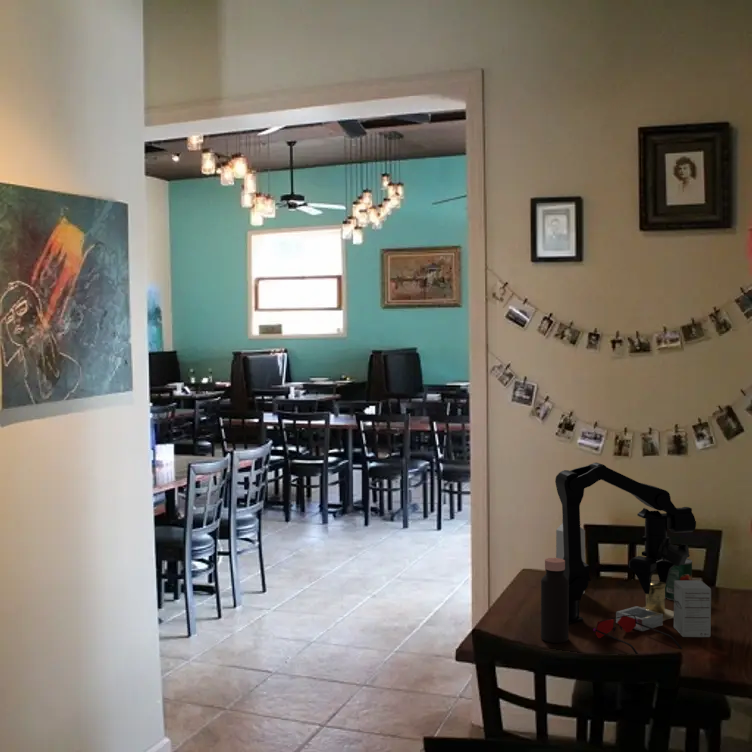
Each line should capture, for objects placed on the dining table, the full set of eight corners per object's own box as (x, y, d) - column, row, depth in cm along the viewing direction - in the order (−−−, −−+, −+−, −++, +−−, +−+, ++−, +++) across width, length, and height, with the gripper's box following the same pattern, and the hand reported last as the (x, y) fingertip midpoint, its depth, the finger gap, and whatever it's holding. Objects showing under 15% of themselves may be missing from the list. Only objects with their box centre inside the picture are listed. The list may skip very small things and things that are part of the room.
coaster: (658, 622, 239) (658, 620, 239) (628, 612, 247) (628, 611, 247) (682, 615, 245) (682, 613, 245) (651, 606, 253) (651, 604, 253)
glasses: (634, 630, 234) (634, 611, 233) (682, 650, 219) (683, 629, 219) (592, 639, 227) (592, 619, 227) (639, 660, 212) (639, 639, 212)
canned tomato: (662, 592, 266) (663, 555, 266) (690, 594, 264) (691, 557, 264) (663, 600, 259) (664, 562, 258) (692, 602, 256) (693, 564, 256)
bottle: (568, 644, 222) (569, 564, 221) (540, 642, 224) (541, 563, 223) (567, 635, 229) (568, 557, 228) (540, 633, 230) (541, 556, 229)
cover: (657, 616, 242) (657, 587, 242) (640, 611, 247) (640, 582, 246) (669, 613, 245) (669, 584, 245) (653, 608, 250) (653, 579, 249)
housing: (642, 631, 232) (642, 619, 232) (615, 622, 238) (616, 611, 238) (662, 625, 237) (662, 613, 236) (636, 617, 243) (636, 606, 243)
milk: (568, 589, 270) (568, 516, 269) (585, 594, 265) (585, 519, 264) (555, 593, 266) (555, 519, 265) (572, 597, 261) (572, 522, 260)
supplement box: (672, 627, 234) (673, 579, 234) (701, 628, 234) (702, 579, 234) (681, 637, 227) (682, 587, 226) (711, 637, 227) (711, 587, 226)
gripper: (667, 544, 233) (666, 603, 233) (699, 532, 246) (699, 589, 247) (628, 537, 240) (627, 595, 241) (661, 526, 254) (661, 581, 255)
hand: (655, 590), depth 246 cm, fingers open, 9 cm apart
